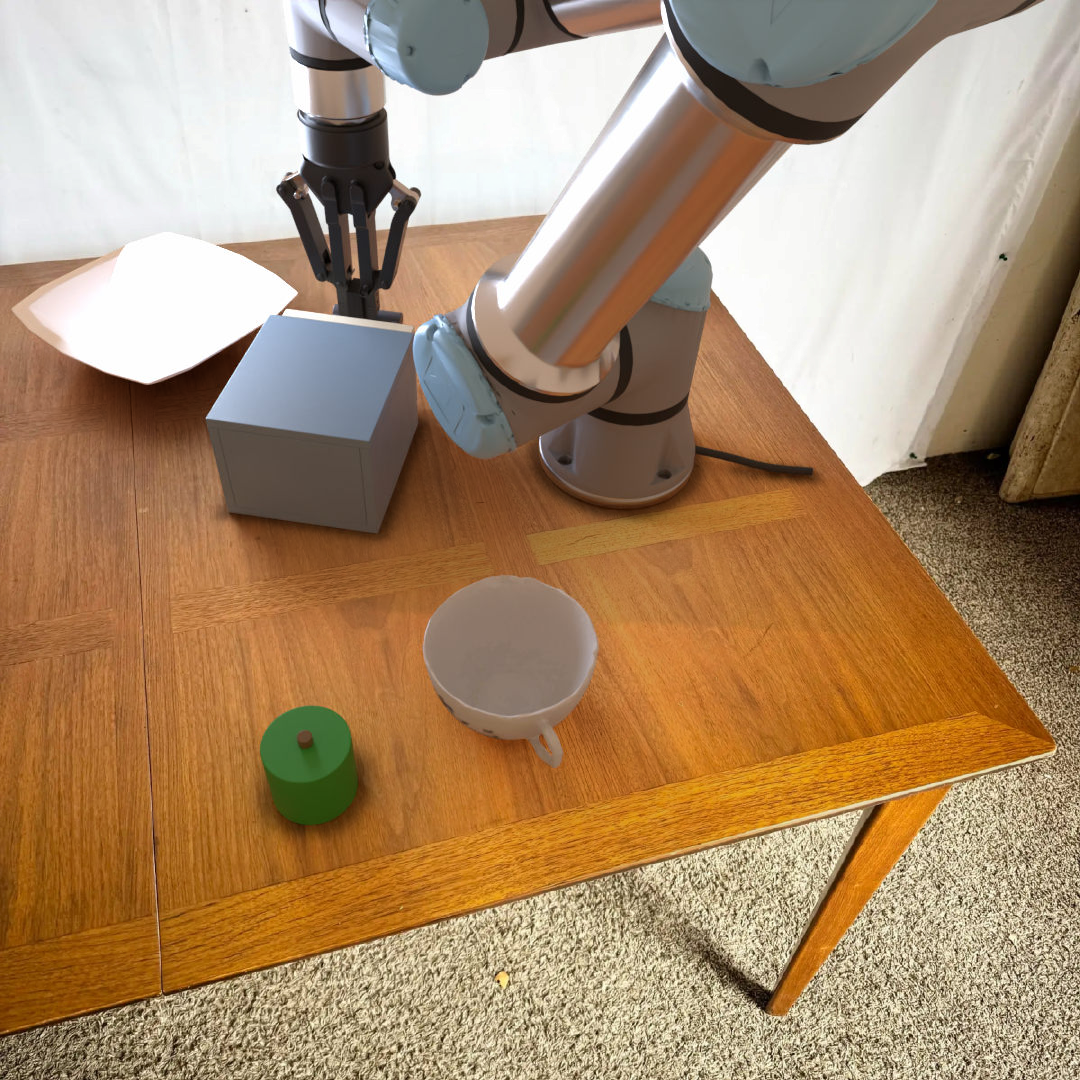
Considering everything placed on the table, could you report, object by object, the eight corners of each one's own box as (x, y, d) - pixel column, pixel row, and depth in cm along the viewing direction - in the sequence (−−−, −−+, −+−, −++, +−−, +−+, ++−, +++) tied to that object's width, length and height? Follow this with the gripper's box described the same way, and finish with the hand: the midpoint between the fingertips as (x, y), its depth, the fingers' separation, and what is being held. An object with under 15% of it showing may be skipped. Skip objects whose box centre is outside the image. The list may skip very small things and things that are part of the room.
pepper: (367, 756, 70) (361, 705, 66) (344, 832, 66) (335, 783, 61) (288, 743, 71) (275, 692, 66) (260, 818, 66) (244, 768, 62)
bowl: (7, 357, 100) (-12, 310, 96) (180, 266, 114) (170, 222, 110) (156, 443, 92) (142, 396, 88) (322, 334, 106) (317, 289, 102)
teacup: (405, 663, 76) (400, 598, 70) (550, 621, 80) (556, 556, 74) (469, 828, 67) (469, 768, 61) (629, 772, 71) (644, 711, 65)
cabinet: (285, 405, 98) (269, 313, 90) (418, 423, 97) (414, 332, 89) (228, 512, 87) (204, 418, 79) (377, 534, 86) (369, 441, 78)
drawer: (316, 348, 103) (306, 274, 96) (431, 364, 102) (429, 290, 96) (247, 477, 88) (230, 401, 82) (381, 496, 88) (374, 420, 81)
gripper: (427, 98, 83) (432, 329, 100) (280, 80, 84) (310, 313, 101) (407, 134, 78) (416, 372, 95) (250, 116, 78) (288, 355, 95)
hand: (362, 341), depth 98 cm, fingers closed
